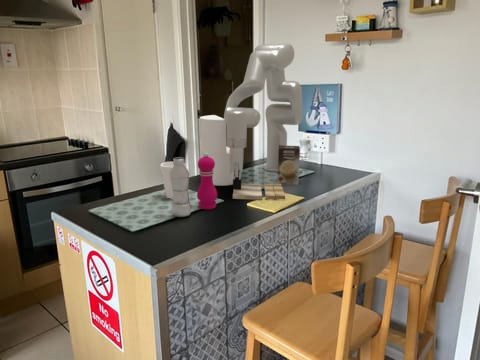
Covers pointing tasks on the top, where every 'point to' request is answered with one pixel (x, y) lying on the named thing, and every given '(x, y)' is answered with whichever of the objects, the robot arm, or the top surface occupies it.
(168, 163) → the foam cup
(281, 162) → the coffee box
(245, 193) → the birch plank
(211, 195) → the pepper mill
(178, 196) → the plastic bottle
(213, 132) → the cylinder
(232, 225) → the top surface
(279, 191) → the oak floorboards
